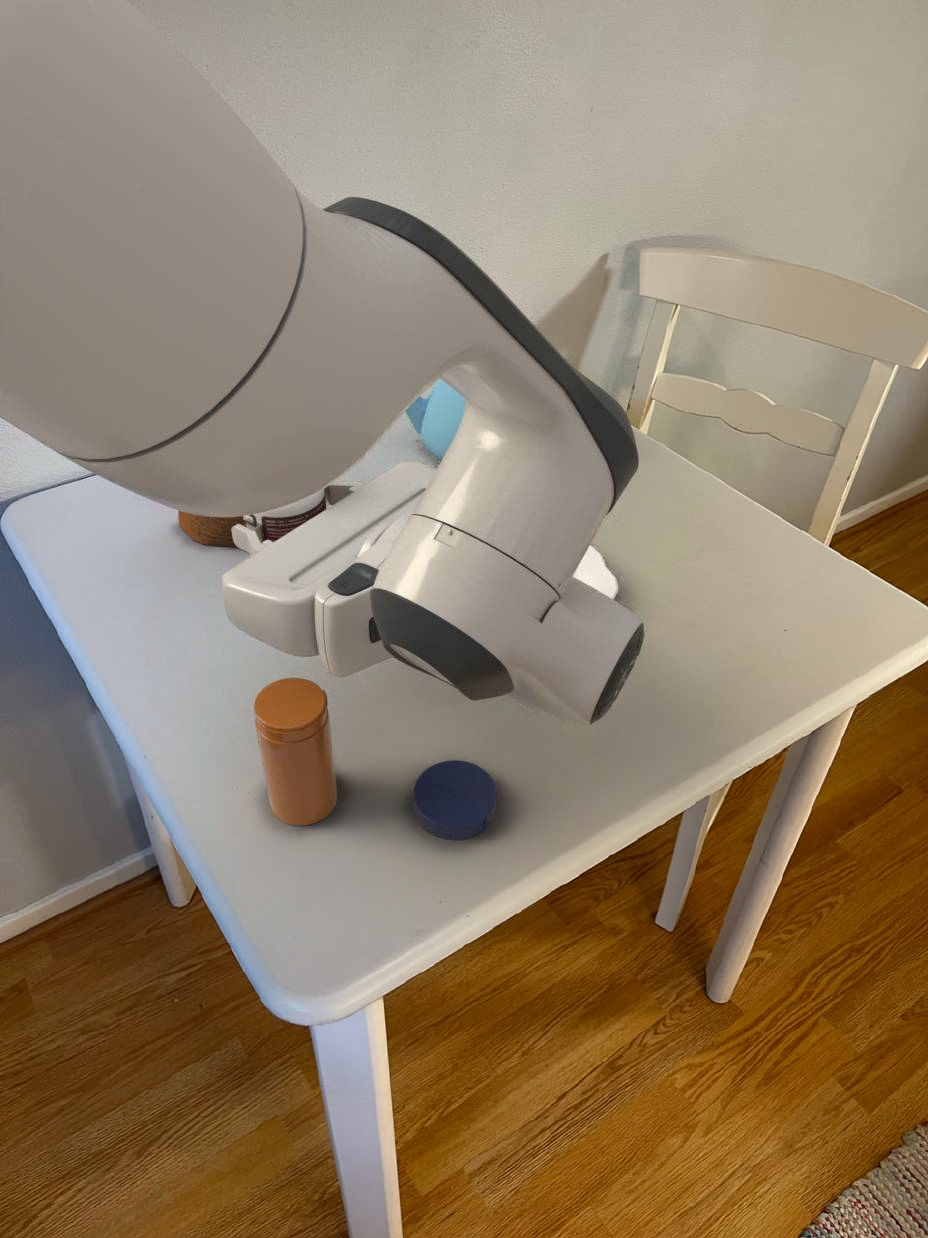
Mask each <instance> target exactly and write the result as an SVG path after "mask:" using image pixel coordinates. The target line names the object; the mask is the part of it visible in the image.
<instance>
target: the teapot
mask: <svg viewBox="0 0 928 1238" xmlns="http://www.w3.org/2000/svg"><path fill="white" fill-rule="evenodd" d="M465 405H466V398H465V397H463V396H462V395H461V394H459V393H458V392H457V391H456V390H454V389H453V388H452V387H451V386H449V385H448V384H447V383H445V382H444V381H443V380H442V379H438V380H437V381H436V383H435V386H433V387H432V390H431V392H430V393H429V395H428V397H427V398H424V397H422V396H421V395H420V396H419V397H418V398H417V399H416V400H415V401H414V402H413V404H412V405H411V406H410V407H409V408H408V409H407V410H406V411H405V412H404V413H405V414H406V415H407V417H408V419H409V421H410V422H411V425H412V426H413V428H414V430H415V432H416V433H417V434H419V435H420V439H421V442H422V443H423V445H424V447H425V448H426V449H427V450H428V451H429V452H430V454H431V455H432V456H433V457H435V458H436V459H437V460H438V461H439V462H441V461H442V459H443V457H444V455H445V454H446V452H447V450H448V448H449V447H450V445H451V443H452V441H453V439H454V437H455V435H456V433H457V431H458V428H459V425H460V423H461V420H462V417H463V413H464V410H465Z"/></svg>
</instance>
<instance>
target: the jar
mask: <svg viewBox="0 0 928 1238" xmlns="http://www.w3.org/2000/svg"><path fill="white" fill-rule="evenodd" d="M328 702H329V701H328V694H327V693H326V691H325V689H322V688H321V687H320V685H318V684H317V683H316V682H314V681H312V680H311V679H310V680H309V679H306V678H302V677H287V678H286V677H285V678H281V679H278V680H275V681H273V682H271V683H269V684H267V685H266V686H264V687H263V688H262V689H261V690H260V691H259V692H258V694H257V696H256V697H255V699H254V703H253V711H254V725H255V730H256V737H257V742H258V747H259V752H260V758H261V763H262V768H263V773H264V778H265V784H266V790H267V795H268V801H269V806H270V809H271V812H272V814H273V815H274V816H275V817H276V818H277V819H278V820H280V821H281V822H283V823H285V824H287V825H291V826H297V827H302V826H303V827H305V826H309V825H313V824H316V823H319V822H320V821H322V820H324V819H325V818H326V817H328V816H329V815H330V814H331V813H332V812H333V810H334V809H335V807H336V805H337V802H338V786H337V778H336V769H335V768H336V767H335V758H334V750H333V739H332V732H331V731H332V729H331V722H330V721H331V720H330V711H329V708H328V705H329V703H328Z"/></svg>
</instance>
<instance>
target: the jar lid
mask: <svg viewBox="0 0 928 1238" xmlns="http://www.w3.org/2000/svg"><path fill="white" fill-rule="evenodd" d="M497 790H498V789H497V786H496V783H495V781H494V779H493V777H492V776H491V775H490V774H489V773H488V772H487V771H486V770H485V769H484V768H483V767H481V766H479V765H477V764H476V763H473V762H470V761H466V760H458V759H453V760H452V759H451V760H444V761H440V762H437V763H435V764H433V765H431V766H429V767H427V768H426V769H425V770H424V771H423V772H422V773H421V774H420V775H419V776H418V778H417V779H416V782H415V784H414V787H413V810H414V816H415V818H416V819H417V822H418V823H419V824H420V825H421V827H423V828H424V830H426V831H427V832H428V833H430V834H431V835H433V836H436V837H438V838H440V839H444V840H452V841H456V840H457V841H460V840H466V839H471V838H472V837H475V836H477V835H479V834H481V833H482V832H484V831H486V830H487V828H488V827H489V826H490V824H491V823H492V822H493V820H494V817H495V815H496V811H497V797H498V791H497Z"/></svg>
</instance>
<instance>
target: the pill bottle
mask: <svg viewBox="0 0 928 1238" xmlns="http://www.w3.org/2000/svg"><path fill="white" fill-rule="evenodd" d="M324 510H326V500H325V491H324V489H322V490H321V491H319V492H317V493H315V494H313V495H311V496H309V497H307V498H305V499H302V500H300V501H298V502H295V503H292V504H290V505H287V506H284V507H281V508H277V509H274V510H270V511H266V512H262V513H257V514H252V515H246V516H243V518H244V520H246V519H247V518H249V519H251V520H252V522H257V523H259V524H261V525H262V526H263V532H264V533H263V537H264V539H265V540H270V541H272V542H275V541H277V540H278V539H280V538H281V537H283V536H285V535H286V534H288V533H289V532H291V531H293V530H294V529H296V528H297V527H299V526H301V525H302V524H304V523H305V522H307V521H308V520H310V519H312V518H313V517H315V516H316V515H318V514H320V513H321V512H323V511H324Z"/></svg>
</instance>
